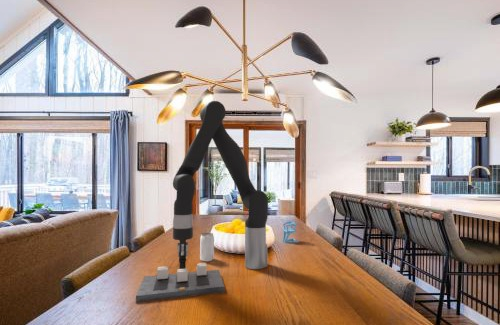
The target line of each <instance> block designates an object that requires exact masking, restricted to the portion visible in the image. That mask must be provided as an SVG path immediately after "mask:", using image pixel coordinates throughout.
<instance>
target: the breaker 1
mask: <svg viewBox="0 0 500 325" xmlns="http://www.w3.org/2000/svg"><path fill="white" fill-rule="evenodd" d="M156 269H157V273H156V274H157V279H167V278H168V274H169V266H168V265H167V266H158V267H157V268H156Z"/></svg>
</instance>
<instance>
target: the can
mask: <svg viewBox="0 0 500 325" xmlns="http://www.w3.org/2000/svg"><path fill="white" fill-rule="evenodd" d="M199 242H200V243H199V245H200V246H199V252H200V253H199V260H200V261H201V262H203V263H207V262H212V261H214V260H215V237H214V233H213V232H204V233H203V232H202V233H201V235H200V238H199Z"/></svg>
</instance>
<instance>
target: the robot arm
mask: <svg viewBox="0 0 500 325" xmlns="http://www.w3.org/2000/svg"><path fill="white" fill-rule="evenodd" d="M226 111H227V110H226V108H225V106H224V104H223V103H222V102H220V101H218V100H212V101H208V102H207V103H206V104H205V105H204V106H203V107H202V108H201V109H200V111H199V112H200V113H199V117H200V120H201V125H200V128H199V130H198V132H197V133H196V135H195V137H194V138H193V140H192V142H191V144H190V145H189V147H188V148H187V151H186V154H185V156H184V158H183V161H182V164H181V165H180V166H179V168H178V170H177V171H176V174H175V175H174V177H173V180H172V186H173V189H174V190H175V191H176V196H175V197H176V198H175V200H174V204H173V219H172V239H173V240H174V241H179V242H177V246H176V247H177V257H178V263H179V269H186V265H187V263H186V262H187V256H188V249H189V241H188V240H191V239H193V237H194V217H193V208H194V206H193V202H194V201H193V200H194V197H195V191H196V183H195V179H194V176H195V174H196V172H198V171H199V170H200V168H201V166H202V164H203V161H204V159H205V156H206V154H207V152H208V149H209V146H210V144H211V142H212V140H213V142H214V144H215V148H216V149H217V151H218V153H219V155H220V157H221V160H222V161H223V163H224V166H225V168H226V170H227V172H228V174H229V175H230V177H231V179H232V181H233V182H234V184H235V187H236V189H237V191H238V194H239V196H240V199H241V202H242V205H243V206H244V207H245V208H246V209H247V210H248V216H247V218H246V219H245V220H244V267H245V268H246V269H249V270H262V269H265V268H268V244H267V237H266V236H267V232H266V231H267V228H266V226H267V221H268V215H269V214H268V212H269V200H268V196H267V194H266V193H265V192H264V191H262V190H257V189H256V187H255V186H254V185H253V182H252V181H251V179H250V176H249V169H248V161H247V159H246V157H245V154H244V153H243V151H242V149H241V147H240V146H239V145H238V143H237V142H236V141H235V140H234V139H233V138H232V136H230V134H229V133H228V132H227V130H226V128H225V126H224V123H223V120H224V119H225V117H226Z"/></svg>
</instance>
